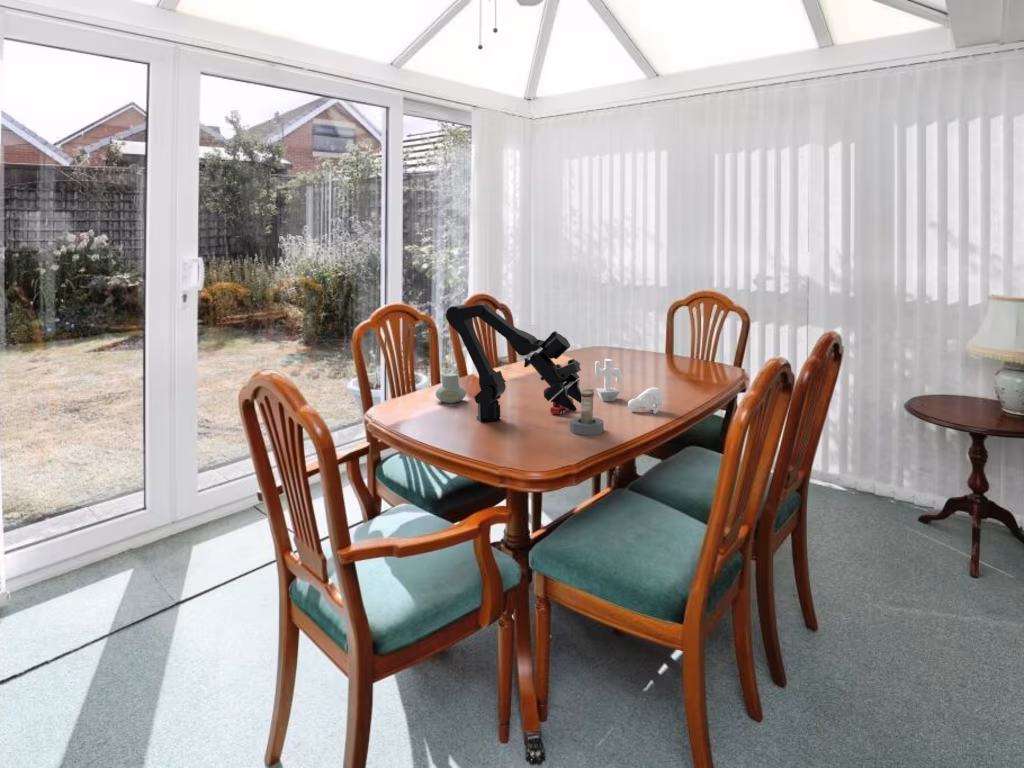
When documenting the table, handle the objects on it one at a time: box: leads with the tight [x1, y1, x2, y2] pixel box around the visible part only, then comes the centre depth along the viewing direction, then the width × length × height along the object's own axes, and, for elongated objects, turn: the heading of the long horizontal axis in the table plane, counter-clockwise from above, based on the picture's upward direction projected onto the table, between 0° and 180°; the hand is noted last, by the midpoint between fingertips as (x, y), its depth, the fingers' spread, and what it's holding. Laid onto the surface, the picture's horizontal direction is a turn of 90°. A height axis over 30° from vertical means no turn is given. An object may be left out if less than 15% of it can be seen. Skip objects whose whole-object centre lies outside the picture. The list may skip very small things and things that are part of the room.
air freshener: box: [435, 372, 467, 404], centre depth 233 cm, size 11×8×10 cm
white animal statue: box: [627, 386, 663, 414], centre depth 218 cm, size 6×8×12 cm
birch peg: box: [580, 387, 595, 424], centre depth 196 cm, size 4×4×13 cm
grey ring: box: [569, 416, 604, 436], centre depth 197 cm, size 10×10×3 cm
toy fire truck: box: [543, 386, 574, 415], centre depth 217 cm, size 3×14×10 cm, turn 141°
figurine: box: [594, 358, 622, 402], centre depth 235 cm, size 7×9×15 cm
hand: (580, 406), depth 197 cm, fingers open, 9 cm apart
